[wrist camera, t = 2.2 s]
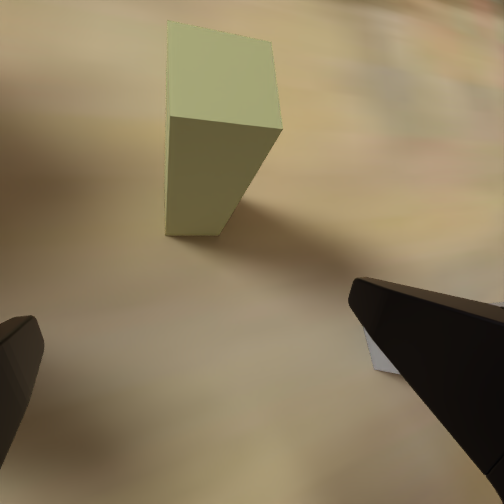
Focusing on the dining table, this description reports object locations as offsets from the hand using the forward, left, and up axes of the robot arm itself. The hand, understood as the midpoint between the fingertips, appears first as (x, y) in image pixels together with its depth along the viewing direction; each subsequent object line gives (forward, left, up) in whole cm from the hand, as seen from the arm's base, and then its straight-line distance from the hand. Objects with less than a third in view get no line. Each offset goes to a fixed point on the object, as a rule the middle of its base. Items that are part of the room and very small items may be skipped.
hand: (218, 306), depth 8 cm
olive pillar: (+1, -8, -13) cm, 15 cm away
